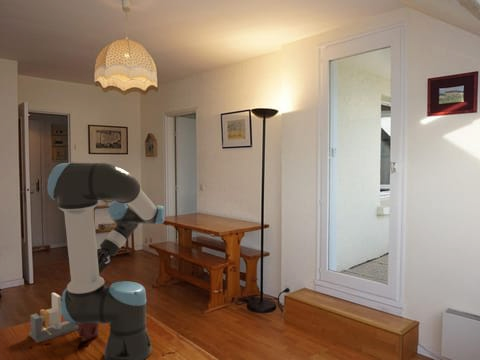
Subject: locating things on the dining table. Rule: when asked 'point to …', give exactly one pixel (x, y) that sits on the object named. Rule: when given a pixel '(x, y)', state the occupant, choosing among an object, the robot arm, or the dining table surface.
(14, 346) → the dining table surface
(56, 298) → the sleeve
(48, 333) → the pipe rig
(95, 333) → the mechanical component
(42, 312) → the orange flat plate
